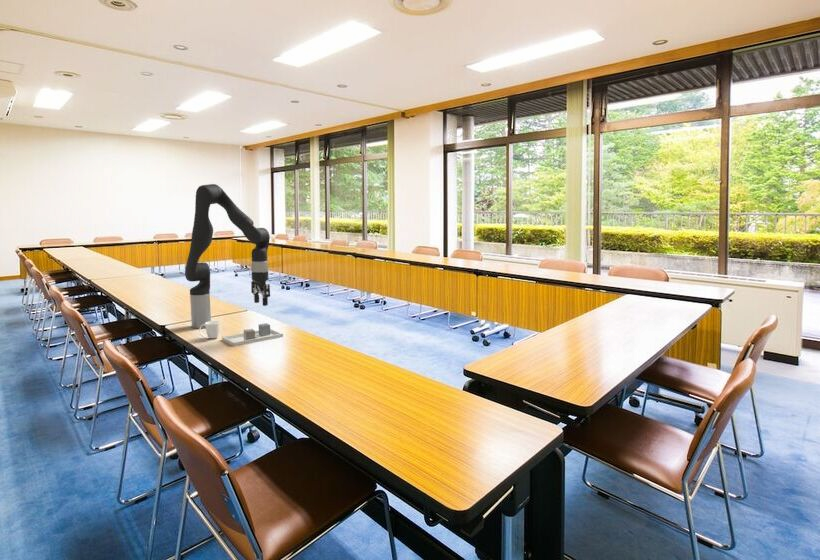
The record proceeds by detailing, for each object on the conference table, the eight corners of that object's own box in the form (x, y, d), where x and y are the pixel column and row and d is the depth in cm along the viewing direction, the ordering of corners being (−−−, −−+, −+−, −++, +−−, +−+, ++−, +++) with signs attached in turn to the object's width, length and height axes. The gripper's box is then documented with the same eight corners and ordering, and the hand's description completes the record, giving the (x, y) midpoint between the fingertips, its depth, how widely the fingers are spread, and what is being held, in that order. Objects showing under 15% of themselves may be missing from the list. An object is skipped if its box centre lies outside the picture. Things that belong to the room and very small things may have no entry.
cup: (216, 341, 214) (216, 324, 213) (196, 340, 215) (195, 323, 214) (224, 337, 221) (223, 321, 220) (204, 336, 222) (203, 320, 221)
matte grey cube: (258, 334, 225) (258, 324, 225) (266, 333, 228) (266, 323, 227) (262, 336, 223) (262, 326, 222) (270, 334, 225) (270, 324, 225)
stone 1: (243, 340, 215) (243, 330, 214) (252, 339, 217) (252, 328, 217) (246, 342, 212) (246, 331, 211) (255, 341, 214) (254, 330, 213)
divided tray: (222, 340, 215) (221, 336, 215) (270, 332, 232) (270, 328, 231) (233, 347, 206) (233, 342, 206) (282, 337, 222) (282, 333, 222)
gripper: (245, 269, 221) (246, 302, 223) (259, 272, 211) (260, 307, 213) (260, 268, 226) (261, 300, 228) (274, 271, 216) (275, 305, 218)
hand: (261, 304), depth 221 cm, fingers open, 8 cm apart
